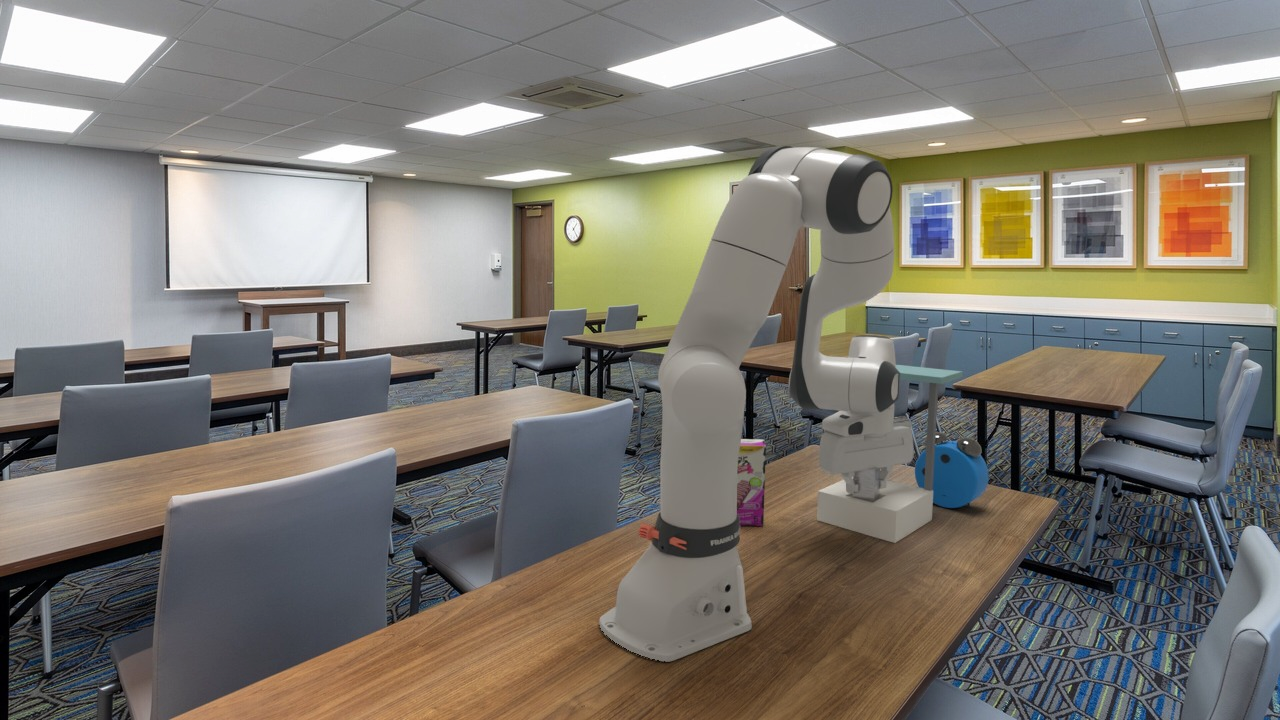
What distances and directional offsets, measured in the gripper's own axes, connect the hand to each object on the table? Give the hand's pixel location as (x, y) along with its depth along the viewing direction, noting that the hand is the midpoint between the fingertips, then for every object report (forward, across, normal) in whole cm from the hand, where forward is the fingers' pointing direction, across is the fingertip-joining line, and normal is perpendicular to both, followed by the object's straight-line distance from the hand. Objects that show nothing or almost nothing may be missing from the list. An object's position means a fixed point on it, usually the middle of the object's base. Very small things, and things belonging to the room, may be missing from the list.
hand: (866, 490), depth 131 cm
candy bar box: (+7, +22, -12) cm, 26 cm away
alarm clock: (+7, -24, -2) cm, 25 cm away
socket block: (+7, -7, -3) cm, 10 cm away
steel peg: (+4, 0, 0) cm, 4 cm away
